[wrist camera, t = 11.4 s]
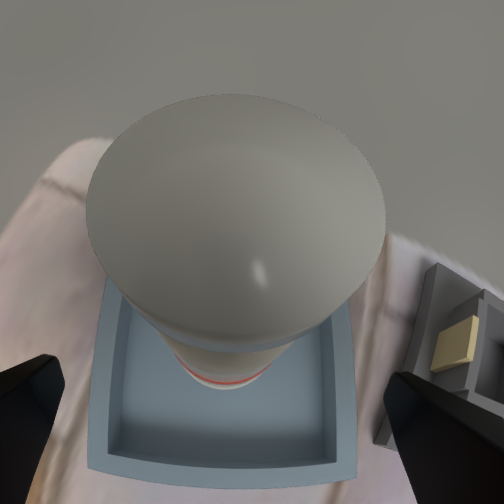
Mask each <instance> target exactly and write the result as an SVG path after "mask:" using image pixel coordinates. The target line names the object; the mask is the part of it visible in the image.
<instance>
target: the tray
mask: <svg viewBox="0 0 504 504" xmlns="http://www.w3.org/2000/svg"><path fill="white" fill-rule="evenodd" d="M87 462H88V469H92V470H96V471H100V472H104V473H108V474H112V475H117V476H121V477H126V478H131V479H136V480H142V481H148V482H154V483H161V484H169V485H177V486H187V487H199V488H215V489H270V488H287V487H299V486H308V485H317V484H325V483H331V482H338V481H344V480H349V479H355V478H357V410H356V386H355V368H354V354H353V341H352V330H351V319H350V310H349V301H348V299H347V300H346V301H345V302H344V303H343V304H342V305H341V306H340V307H339V308H337V309H336V310H335V311H334V312H333V313H332V314H331V315H330V316H329V317H328V318H327V319H326V320H324V321H323V322H322V323H321V324H320V325H319V326H317V327H316V328H315V329H313V330H312V331H310V332H309V333H307V334H306V335H304V336H302V337H300V338H298V339H296V340H295V341H294V342H293V343H292V344H291V345H290V346H289V347H288V348H287V349H286V350H285V351H284V352H282V353H281V354H280V355H279V356H278V357H277V358H276V359H275V360H274V361H273V362H272V363H271V365H270V366H269V367H268V368H267V369H266V370H264V372H263V373H262V374H261V375H260V376H259V377H258V378H256V379H255V380H254V381H253V382H251V383H250V384H248V385H246V386H244V387H242V388H239V389H235V390H227V391H222V390H215V389H211V388H208V387H206V386H204V385H202V384H200V383H199V382H197V381H196V380H195V379H193V378H192V377H191V376H190V375H189V374H188V372H187V371H186V370H185V369H184V367H183V366H182V364H181V363H180V361H179V360H178V359H177V357H176V356H175V354H174V352H173V351H172V350H171V348H170V347H169V346H168V344H167V343H166V342H165V341H164V339H163V338H162V337H161V336H160V334H159V333H158V332H157V330H156V329H155V328H154V327H153V326H152V325H151V324H149V323H148V322H147V321H146V320H145V319H143V318H142V317H141V316H140V315H139V314H138V313H137V312H136V310H135V309H134V308H133V307H132V306H131V305H130V303H129V302H128V301H127V300H126V298H125V297H124V296H123V294H122V293H121V292H120V290H119V289H118V288H117V286H116V285H115V284H114V282H113V281H112V279H111V278H110V277H109V275H107V279H106V284H105V289H104V294H103V299H102V305H101V310H100V316H99V322H98V329H97V335H96V342H95V350H94V357H93V366H92V375H91V386H90V399H89V415H88V446H87Z"/></svg>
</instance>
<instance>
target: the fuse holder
mask: <svg viewBox="0 0 504 504" xmlns="http://www.w3.org/2000/svg"><path fill="white" fill-rule="evenodd" d="M401 371H409V372H411V373H413V374H415V375H417V376H419V377H421V378H423V379H425V380H427V381H428V382H430V383H432V384H434V385H436V386H438V387H440V388H443V389H445V390H447V391H449V392H451V393H453V394H455V395H457V396H459V397H461V398H463V399H465V400H467V401H469V402H471V403H473V404H475V405H477V406H479V407H482V408H484V409H486V410H488V411H490V412H492V413H494V414H496V415H499V416H501V417H503V419H504V301H502V300H501V299H499V298H498V297H496V296H495V295H493V294H492V293H490V292H489V291H487V290H486V289H483V290H482V289H480V288H478V287H477V286H475V285H474V284H472V283H471V282H469V281H468V280H466V279H464V278H463V277H461V276H460V275H458V274H456V273H455V272H453V271H452V270H450V269H448V268H447V267H445V266H443V265H442V264H440V263H438V262H437V263H436V264H435V265H434V266H433V267H431V268H430V269H429V270H428V271H427V272H426V275H425V280H424V286H423V291H422V295H421V300H420V304H419V309H418V313H417V317H416V321H415V325H414V329H413V333H412V337H411V340H410V344H409V347H408V351H407V354H406V358H405V361H404V364H403V367H402V370H401ZM374 444H375V445H378V446H381V447H384V448H388V449H391V450H394V451H397V452H398V450H397V447H396V444H395V441H394V437H393V433H392V430H391V426H390V423H389V419H388V415H387V413H386V415H385V418H384V420H383V423H382V425H381V428H380V430H379V432H378V435H377V437H376V439H375V442H374Z"/></svg>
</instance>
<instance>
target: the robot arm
mask: <svg viewBox="0 0 504 504" xmlns="http://www.w3.org/2000/svg"><path fill="white" fill-rule="evenodd" d="M64 388H65V380H64V377H63V373H62V370H61V367H60V363H59V360H58V359H57V357H55V356H52V355H48V354H42V355H39V356H37V357H35V358H33V359H30V360H28V361H26V362H23V363H21V364H19V365H16V366H14V367H12V368H9V369H7V370H5V371H3V372H0V504H25V502H26V499H27V496H28V493H29V490H30V487H31V484H32V481H33V478H34V475H35V472H36V469H37V467H38V464H39V461H40V459H41V456H42V453H43V451H44V448H45V446H46V443H47V441H48V438H49V435H50V433H51V430H52V427H53V424H54V420H55V417H56V413H57V410H58V407H59V404H60V400H61V397H62V394H63V391H64ZM383 400H384V405H385V408H386V412H387V415H388V419H389V423H390V426H391V430H392V433H393V437H394V441H395V444H396V447H397V450H398V452H399V455H400V457H401V460H402V463H403V465H404V468H405V470H406V473H407V476H408V478H409V481H410V484H411V486H412V489H413V492H414V495H415V497H416V500H417V503H418V504H504V419H503V417H501V416H499V415H496V414H494V413H492V412H490V411H488V410H486V409H484V408H482V407H479V406H477V405H475V404H473V403H471V402H469V401H467V400H465V399H463V398H461V397H459V396H457V395H455V394H453V393H451V392H449V391H447V390H445V389H443V388H440V387H438V386H436V385H434V384H432V383H430V382H428V381H427V380H425V379H423V378H421V377H419V376H417V375H415V374H413V373H411V372H409V371H398V372H394V373H393V374H392V375H391V378H390V380H389V383H388V385H387V388H386V391H385V393H384V398H383Z"/></svg>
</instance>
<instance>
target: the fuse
mask: <svg viewBox="0 0 504 504" xmlns="http://www.w3.org/2000/svg"><path fill="white" fill-rule="evenodd" d="M86 222H87V228H88V234H89V238H90V240H91V243H92V246H93V249H94V252H95V254H96V256H97V257H98V259H99V261H100V263H101V265H102V266H103V268H104V270H105V271H106V273H107V274H108V275H109V277H110V278H111V279H112V281H113V282H114V284H115V285H116V286H117V288H118V289H119V290H120V292H121V293H122V294H123V296H124V297H125V298H126V300H127V301H128V302H129V303H130V305H131V306H132V307H133V308H134V309H135V310H136V312H137V313H138V314H139V315H140V316H141V317H142V318H143V319H145V320H146V321H147V322H148V323H149V324H151V325H152V326H153V327H154V328H155V329H156V330H157V332H158V333H159V334H160V336H161V337H162V338H163V339H164V341H165V342H166V343H167V344H168V346H169V347H170V348H171V350H172V351H173V352H174V354H175V356H176V357H177V359H178V360H179V361H180V363H181V364H182V366H183V367H184V369H185V370H186V371H187V372H188V374H189V375H190V376H191V377H192V378H193V379H195V380H196V381H197V382H199V383H200V384H202V385H204V386H206V387H208V388H211V389H215V390H222V391H227V390H235V389H239V388H242V387H244V386H246V385H248V384H250V383H251V382H253V381H254V380H255V379H256V378H258V377H259V376H260V375H261V374H262V373H263V372H264V370H266V369H267V368H268V367H269V366H270V365H271V363H272V362H273V361H274V360H275V359H276V358H277V357H278V356H279V355H280V354H281V353H282V352H284V351H285V350H286V349H287V348H288V347H289V346H290V345H291V344H292V343H293V342H294V341H295V340H296V339H298V338H300V337H302V336H304V335H306V334H307V333H309V332H310V331H312V330H313V329H315V328H316V327H317V326H319V325H320V324H321V323H322V322H323V321H324V320H326V319H327V318H328V317H329V316H330V315H331V314H332V313H333V312H334V311H335V310H336V309H337V308H339V307H340V306H341V305H342V304H343V303H344V302H345V301H346V300H347V299H348V298H349V297H350V296H351V295H352V294H353V293H354V292H355V291H356V290H357V289H358V288H359V287H360V286H361V285H362V284H363V282H364V281H365V280H366V278H367V277H368V275H369V274H370V272H371V271H372V270H373V268H374V266H375V264H376V261H377V259H378V257H379V255H380V252H381V249H382V245H383V242H384V238H385V229H386V212H385V203H384V199H383V194H382V191H381V188H380V186H379V183H378V181H377V178H376V176H375V174H374V172H373V170H372V168H371V167H370V165H369V164H368V162H367V161H366V159H365V158H364V156H363V155H362V154H361V152H360V151H359V150H358V149H357V148H356V147H355V145H354V144H353V143H352V142H351V141H350V140H349V139H348V138H346V137H345V136H344V135H343V134H342V133H341V132H340V131H338V130H337V129H335V128H334V127H333V126H332V125H330V124H329V123H327V122H326V121H324V120H322V119H321V118H319V117H317V116H316V115H314V114H311V113H309V112H307V111H305V110H303V109H301V108H298V107H296V106H293V105H290V104H287V103H284V102H280V101H277V100H274V99H269V98H264V97H259V96H250V95H238V94H237V95H236V94H222V95H209V96H202V97H196V98H192V99H187V100H183V101H180V102H177V103H174V104H171V105H168V106H166V107H163V108H161V109H159V110H156V111H154V112H152V113H150V114H149V115H147V116H145V117H143V118H142V119H140V120H139V121H137V122H136V123H134V124H133V125H131V126H130V127H129V128H128V129H127V130H125V131H124V132H123V133H122V134H121V135H120V136H119V137H118V138H117V139H116V140H115V141H114V142H113V143H112V144H111V145H110V147H109V148H108V149H107V151H106V152H105V153H104V155H103V156H102V158H101V159H100V161H99V163H98V165H97V167H96V169H95V171H94V173H93V176H92V179H91V182H90V185H89V189H88V194H87V200H86Z"/></svg>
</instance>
